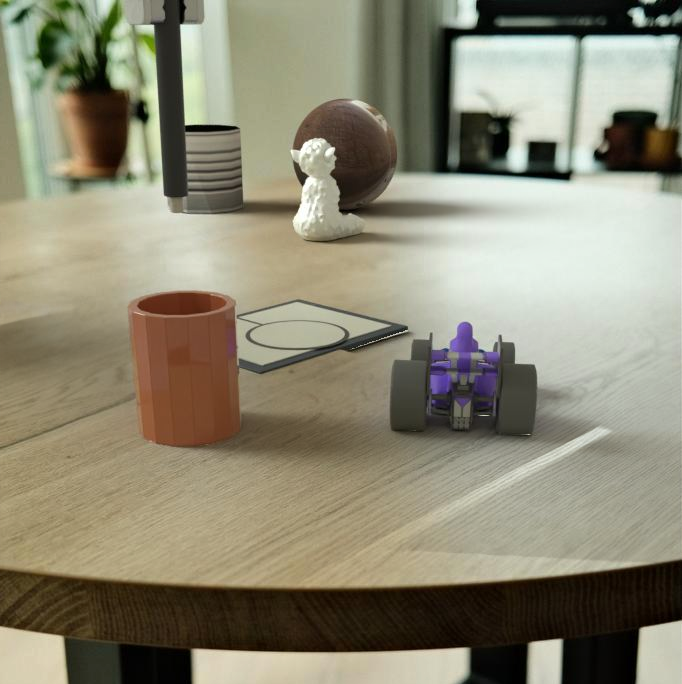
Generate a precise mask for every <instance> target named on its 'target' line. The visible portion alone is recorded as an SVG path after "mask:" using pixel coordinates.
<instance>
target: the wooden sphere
mask: <svg viewBox="0 0 682 684" xmlns="http://www.w3.org/2000/svg"><path fill="white" fill-rule="evenodd" d="M314 138H317V139H319V138H322V139H325V140H326V141H327V143H329V144H330V145H331V147H334V148H335V151H334V156H336V160H335V168H334V169H333V170H332V171H331V173H330V175H331V177H333V179H335V180H336V185H337V186H338V189H339V191H340V195H339V198H340V200H339V202H338V207H339V211H340V210H341V211H342V210H344V211H348V210H349V211H350V210H355V209H359V208H363V207H365V206H367V205H369V204H370V203H373V202H374V201H375V200H377V199H378V198H379V197H380V196H381V195H382V194H383V193H384V192H385V191H386V189H387V188H388V186H389V185H390V183H391V182H392V179H393V177H394V175H395V172H396V168H397V163H398V145H397V140H396V136H395V134H394V131H393V129H392V126H391V125H390V124H389V122H388V120H387V119H386V118H385V117H384V115H383V114H382V113H381V112H380V111H379V110H378V109H377V108H375V107H373V106H372V105H370V104H368V103H367V102H364V101H361V100H358V99H354V98H336V99H332V100H329V101H326V102H323V103H322V104H320V105H318V106H317V107H315V108H314V109H312V110H311V111H310V112H309V113H308V114H307V115H306V116H305V117H304V118H303V120H302V121H301V123H300V125H299V126H298V128H297V130H296V133H295V136H294V139H293V144H292V150H298V151H300V150H301V148H302V147H303V144H304V143H305V142H308V141H309V140H312V139H314ZM292 165H293V169H294V173H295V175H296V178H297V180H298V182H299V184H300V185H301V187H302V188H303V186H304V185H305V182H306V179H307V178H308V177H310V176H308V175H307V174H306V173H305V172H303V171H302V170H301V167H300V166H299V163H297V162H295V161H294V160H293V159H292Z"/></svg>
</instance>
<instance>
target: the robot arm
mask: <svg viewBox="0 0 682 684" xmlns="http://www.w3.org/2000/svg"><path fill="white" fill-rule="evenodd" d="M123 3H124V15H125V20H126V22H127V24H129V25H130V26H154V25H162V24H163V23H164V20H165V11H164V9H163V8H162V7H163V5H164V0H123ZM179 8H180V26H181V25H182V26H183V25H186V26H189V25H202V24H203V23H204V21H205V0H179Z"/></svg>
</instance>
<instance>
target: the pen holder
mask: <svg viewBox="0 0 682 684" xmlns="http://www.w3.org/2000/svg"><path fill="white" fill-rule="evenodd" d="M237 315H238V314H237V301H236V300H235V298H233V297H231V295H228V294H224V293H220V292H215V291H206V290H197V289H196V290H195V289H194V290H189V289H188V290H187V289H186V290H169V291H161V292H160V291H159V292H154V293H150V294H146V295H142V296H139V297H137V298H135V299H133V300H131V301H129V303H128V305H127V316H128V327H129V335H130V336H129V338H130V348H131V349H130V350H131V360H132V370H133V380H134V381H133V382H134V393H135V401H136V402H135V403H136V414H137V424H138V431H139V433H140V436H141V437H143V438H144V439H145V440H146V441H148V442H150V443H153V444H156V445H160V444H162V445H161V446H165V445H167V446H166V447H173V448H174V447H175V448H193V447H201V446H200V445H203V446H207V445H206V444H209V445H213V444H212V443H214V444H217V442H218V443H221V442H224V441H227V440H229V439H231V438H233V437H235V436H236V435H237V434H238V433H239V432H240V431H241V428H242V404H241V403H242V402H241V384H240V383H241V382H240V367H239V357H238V335H237ZM236 433H237V434H236ZM230 437H231V438H230ZM228 438H229V439H228ZM226 439H227V440H226ZM220 441H221V442H220ZM188 446H189V447H188Z"/></svg>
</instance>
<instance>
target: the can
mask: <svg viewBox="0 0 682 684" xmlns="http://www.w3.org/2000/svg"><path fill="white" fill-rule="evenodd" d="M185 135H186V156H187V177H188V196H186V197H183V212H185V213H184V214H203V215H204V214H207V215H208V214H220V213H229V212H235V211H238V210H240V209H243V208H244V189H243V188H244V186H243V163H242V162H243V161H242V160H243V159H242V139H241V128H240V127H238V125H237V126H236V125H229V124H207V123H206V124H192V123H191V124H185ZM166 199H167V207H169V208H170V197H166ZM169 208H168V209H169Z"/></svg>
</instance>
